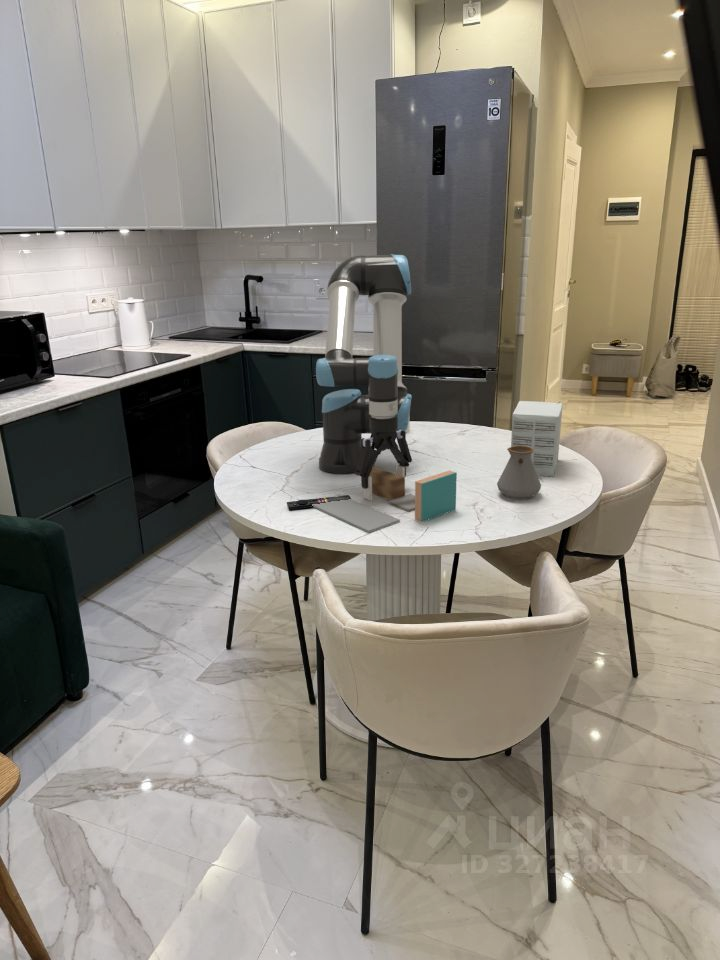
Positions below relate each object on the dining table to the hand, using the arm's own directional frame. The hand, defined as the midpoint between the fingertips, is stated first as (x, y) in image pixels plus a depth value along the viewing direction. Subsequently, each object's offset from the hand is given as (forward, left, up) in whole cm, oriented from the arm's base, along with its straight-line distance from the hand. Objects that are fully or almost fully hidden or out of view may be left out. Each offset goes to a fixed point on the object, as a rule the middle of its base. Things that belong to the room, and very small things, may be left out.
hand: (384, 493), depth 183 cm
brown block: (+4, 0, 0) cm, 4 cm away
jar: (-45, +46, 0) cm, 64 cm away
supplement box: (+13, +49, 0) cm, 51 cm away
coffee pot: (+28, +22, 0) cm, 36 cm away
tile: (+19, 0, 0) cm, 20 cm away
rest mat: (+5, -15, 0) cm, 16 cm away
